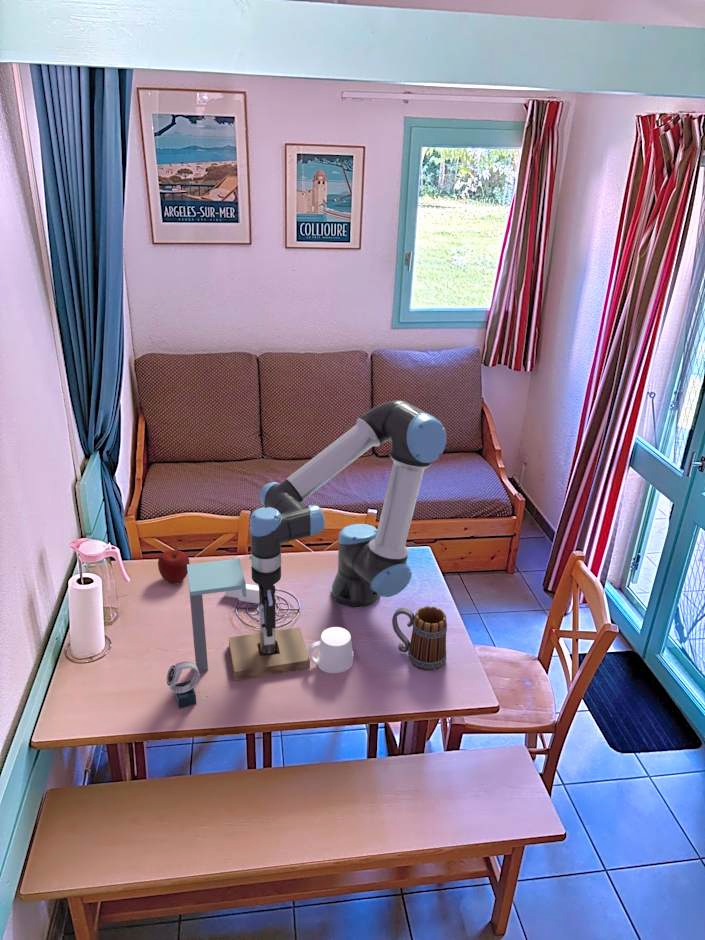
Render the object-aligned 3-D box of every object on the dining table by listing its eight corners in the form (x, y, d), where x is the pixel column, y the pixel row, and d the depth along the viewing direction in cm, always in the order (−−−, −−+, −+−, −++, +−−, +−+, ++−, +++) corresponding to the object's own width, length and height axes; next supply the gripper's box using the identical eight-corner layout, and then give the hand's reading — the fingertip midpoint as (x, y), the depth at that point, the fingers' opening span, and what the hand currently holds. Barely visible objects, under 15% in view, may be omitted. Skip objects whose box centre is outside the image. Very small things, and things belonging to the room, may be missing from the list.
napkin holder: (273, 602, 221) (272, 587, 219) (241, 617, 215) (240, 601, 212) (246, 579, 231) (245, 564, 229) (215, 593, 225) (214, 577, 222)
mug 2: (449, 651, 203) (454, 608, 196) (441, 676, 194) (446, 631, 187) (396, 638, 207) (399, 595, 201) (385, 661, 198) (388, 617, 192)
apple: (187, 589, 225) (184, 562, 220) (156, 588, 225) (153, 561, 221) (193, 572, 233) (191, 545, 229) (163, 571, 233) (161, 544, 229)
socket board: (299, 635, 207) (299, 627, 206) (309, 668, 195) (309, 660, 194) (229, 646, 202) (228, 637, 201) (235, 680, 190) (234, 671, 189)
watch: (167, 695, 185) (163, 662, 180) (198, 687, 188) (195, 654, 183) (171, 711, 180) (167, 677, 175) (203, 702, 183) (200, 668, 178)
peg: (259, 644, 198) (258, 603, 192) (273, 642, 199) (273, 601, 193) (261, 654, 195) (260, 612, 189) (276, 652, 196) (275, 610, 190)
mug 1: (349, 624, 198) (356, 643, 191) (348, 651, 202) (355, 671, 195) (306, 630, 195) (312, 649, 188) (306, 657, 199) (311, 677, 192)
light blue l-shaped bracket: (244, 646, 202) (239, 558, 189) (249, 675, 192) (245, 584, 179) (194, 653, 199) (186, 564, 186) (197, 683, 189) (189, 591, 176)
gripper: (247, 549, 192) (249, 620, 202) (256, 586, 177) (258, 661, 187) (275, 546, 193) (276, 616, 204) (286, 582, 179) (287, 656, 189)
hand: (267, 637), depth 196 cm, fingers closed on peg, 4 cm apart
